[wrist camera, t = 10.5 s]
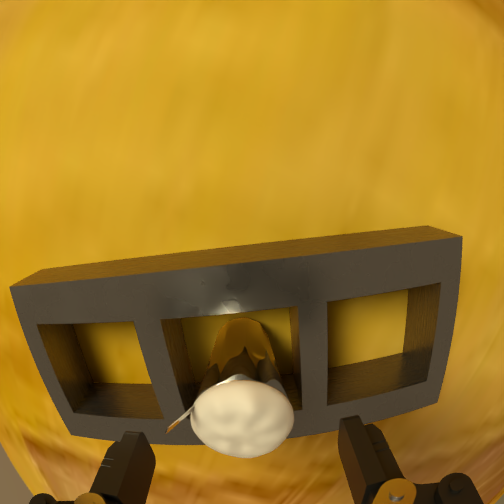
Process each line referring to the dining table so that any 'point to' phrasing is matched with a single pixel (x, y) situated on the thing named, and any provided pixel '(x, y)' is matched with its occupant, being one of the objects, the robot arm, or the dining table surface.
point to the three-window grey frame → (244, 300)
